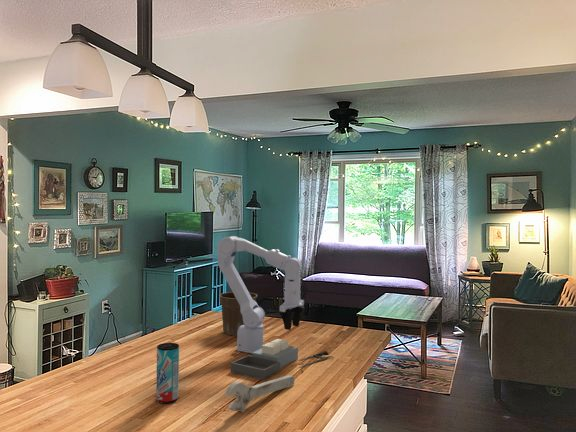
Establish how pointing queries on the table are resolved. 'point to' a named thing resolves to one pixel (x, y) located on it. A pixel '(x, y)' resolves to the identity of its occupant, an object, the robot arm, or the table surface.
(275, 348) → the tile front
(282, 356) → the gray rectangular block
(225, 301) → the plant pot
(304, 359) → the hacksaw
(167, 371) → the beverage can
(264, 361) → the box
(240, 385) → the wrench
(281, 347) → the tile back
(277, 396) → the table surface
